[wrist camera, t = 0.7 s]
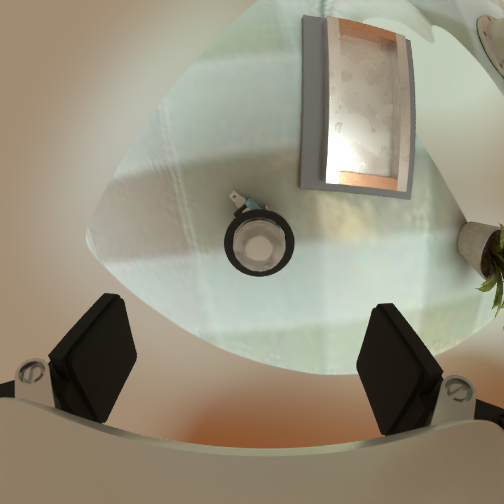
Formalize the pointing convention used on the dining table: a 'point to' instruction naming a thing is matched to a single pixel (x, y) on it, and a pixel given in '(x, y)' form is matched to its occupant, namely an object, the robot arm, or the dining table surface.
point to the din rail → (365, 106)
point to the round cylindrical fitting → (257, 239)
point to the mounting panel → (315, 116)
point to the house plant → (485, 255)
